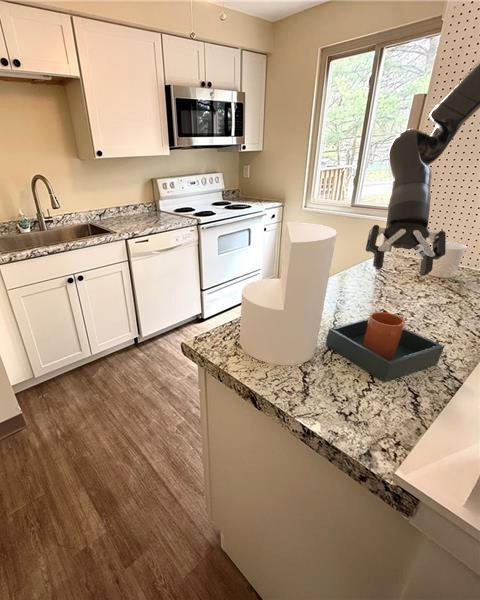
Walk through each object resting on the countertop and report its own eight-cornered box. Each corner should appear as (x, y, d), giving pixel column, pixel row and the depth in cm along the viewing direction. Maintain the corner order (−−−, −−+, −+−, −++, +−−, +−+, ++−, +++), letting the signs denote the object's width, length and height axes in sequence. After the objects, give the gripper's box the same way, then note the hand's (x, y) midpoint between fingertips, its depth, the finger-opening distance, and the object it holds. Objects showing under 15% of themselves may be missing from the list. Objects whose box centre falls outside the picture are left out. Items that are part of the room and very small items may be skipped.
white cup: (454, 280, 98) (465, 250, 94) (422, 275, 103) (431, 246, 99) (457, 273, 102) (468, 243, 98) (426, 268, 108) (435, 240, 104)
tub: (372, 331, 77) (377, 315, 75) (437, 364, 64) (444, 346, 62) (325, 345, 74) (328, 328, 72) (384, 382, 61) (389, 364, 59)
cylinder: (311, 329, 80) (328, 221, 68) (320, 370, 66) (345, 242, 54) (241, 323, 86) (247, 222, 74) (236, 359, 72) (242, 242, 60)
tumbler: (375, 341, 72) (384, 309, 69) (401, 355, 67) (412, 322, 63) (355, 348, 71) (362, 315, 67) (380, 362, 66) (390, 328, 62)
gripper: (379, 196, 72) (370, 260, 69) (456, 201, 67) (451, 270, 64) (367, 213, 79) (359, 272, 76) (436, 219, 74) (430, 282, 71)
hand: (401, 271), depth 70 cm, fingers open, 8 cm apart
